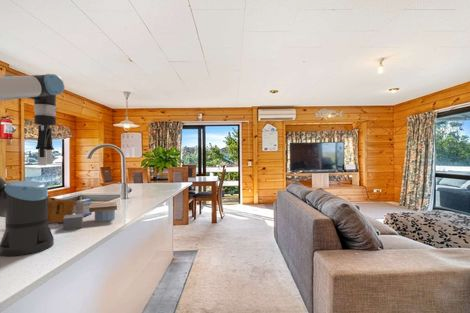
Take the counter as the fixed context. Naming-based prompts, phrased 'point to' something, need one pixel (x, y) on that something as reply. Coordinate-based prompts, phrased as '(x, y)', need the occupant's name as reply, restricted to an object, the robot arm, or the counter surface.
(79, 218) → the grey block
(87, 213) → the medicine box
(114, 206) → the walnut board
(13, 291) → the counter surface
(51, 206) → the coffee package
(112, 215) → the bowl
